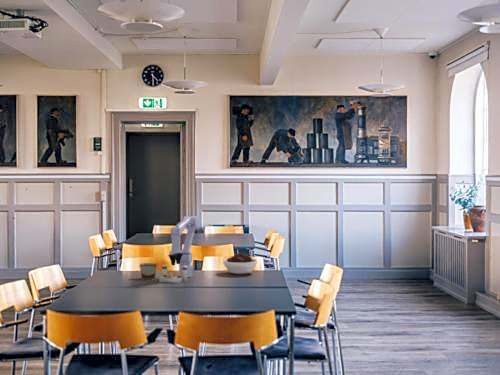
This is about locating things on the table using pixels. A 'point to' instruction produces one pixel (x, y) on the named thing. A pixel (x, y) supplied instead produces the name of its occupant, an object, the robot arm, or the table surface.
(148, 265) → the food container
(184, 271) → the cable post
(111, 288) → the table surface
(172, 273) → the block
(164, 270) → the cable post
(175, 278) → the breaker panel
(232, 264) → the white bowl
